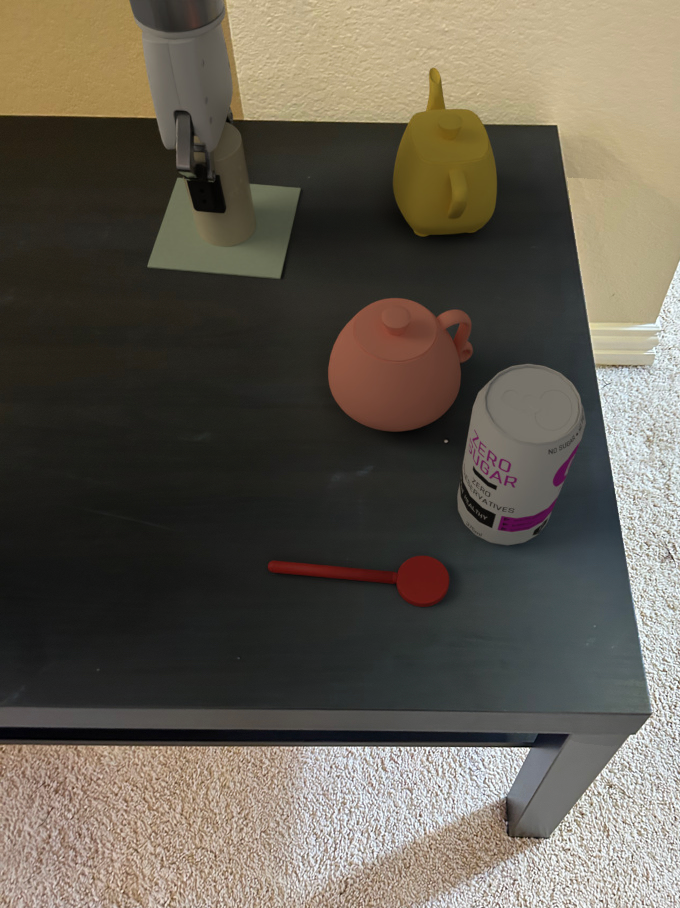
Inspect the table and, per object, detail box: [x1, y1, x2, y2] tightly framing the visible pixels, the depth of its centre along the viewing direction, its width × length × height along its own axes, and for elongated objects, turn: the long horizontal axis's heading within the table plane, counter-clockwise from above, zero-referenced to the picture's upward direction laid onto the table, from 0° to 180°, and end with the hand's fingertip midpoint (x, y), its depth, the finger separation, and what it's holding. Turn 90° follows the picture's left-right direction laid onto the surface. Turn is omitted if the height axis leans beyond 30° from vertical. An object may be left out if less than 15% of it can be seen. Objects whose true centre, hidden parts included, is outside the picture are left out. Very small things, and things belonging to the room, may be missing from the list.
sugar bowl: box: [327, 297, 474, 433], centre depth 68 cm, size 12×14×10 cm
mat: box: [146, 177, 302, 280], centre depth 82 cm, size 14×14×1 cm
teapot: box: [392, 67, 498, 237], centre depth 79 cm, size 18×11×11 cm, turn 8°
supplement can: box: [456, 363, 587, 546], centre depth 60 cm, size 8×8×15 cm
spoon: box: [267, 555, 450, 608], centre depth 63 cm, size 15×4×1 cm, turn 85°
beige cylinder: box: [175, 122, 256, 246], centre depth 77 cm, size 6×6×10 cm
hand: (217, 184), depth 77 cm, fingers open, 6 cm apart
